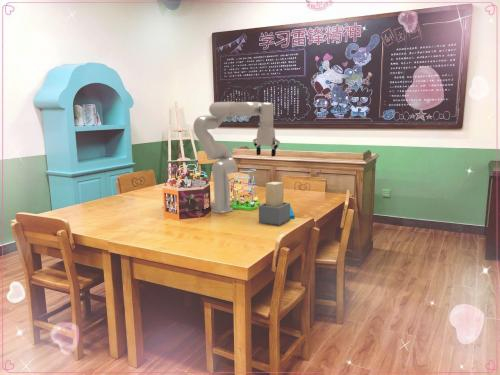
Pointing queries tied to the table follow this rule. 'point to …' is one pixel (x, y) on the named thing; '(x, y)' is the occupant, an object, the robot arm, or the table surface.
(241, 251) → the table surface
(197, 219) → the table surface
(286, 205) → the box
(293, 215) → the lever
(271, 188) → the beige tall block
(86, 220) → the table surface
